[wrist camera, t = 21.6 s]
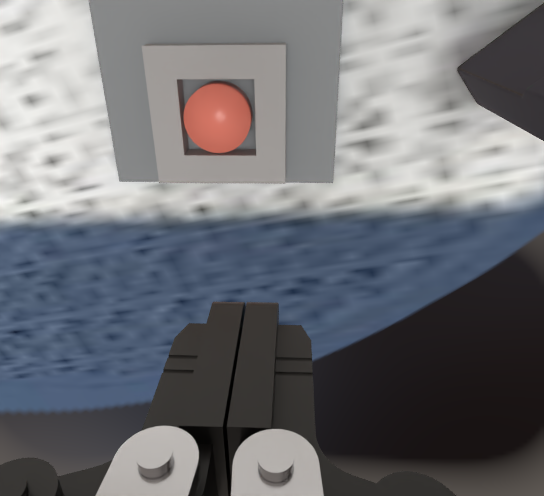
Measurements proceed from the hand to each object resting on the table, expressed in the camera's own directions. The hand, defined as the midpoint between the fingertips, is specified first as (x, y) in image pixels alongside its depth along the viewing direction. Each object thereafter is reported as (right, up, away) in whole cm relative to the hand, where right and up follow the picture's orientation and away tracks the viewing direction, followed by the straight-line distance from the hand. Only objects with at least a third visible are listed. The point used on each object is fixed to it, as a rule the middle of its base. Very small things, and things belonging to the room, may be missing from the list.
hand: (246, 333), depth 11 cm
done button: (-3, +11, +22) cm, 25 cm away
